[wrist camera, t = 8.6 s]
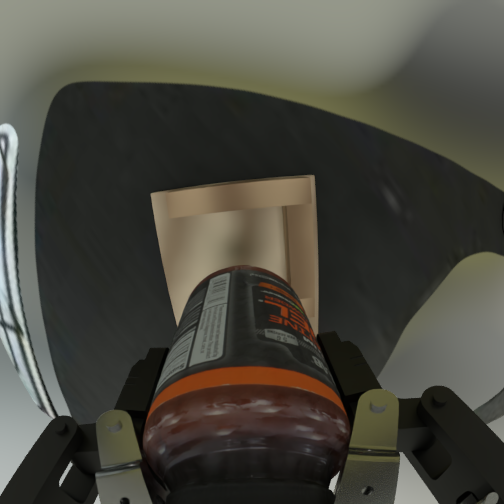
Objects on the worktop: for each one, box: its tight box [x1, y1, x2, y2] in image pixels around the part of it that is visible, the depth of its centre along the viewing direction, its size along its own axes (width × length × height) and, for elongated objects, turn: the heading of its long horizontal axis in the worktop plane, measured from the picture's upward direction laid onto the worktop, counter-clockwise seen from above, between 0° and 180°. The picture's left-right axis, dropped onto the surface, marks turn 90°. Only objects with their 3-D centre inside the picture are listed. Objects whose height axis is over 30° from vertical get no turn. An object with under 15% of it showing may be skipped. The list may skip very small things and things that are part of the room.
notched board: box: [151, 175, 318, 337], centre depth 25 cm, size 14×20×4 cm
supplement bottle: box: [143, 265, 352, 504], centre depth 9 cm, size 6×6×11 cm
